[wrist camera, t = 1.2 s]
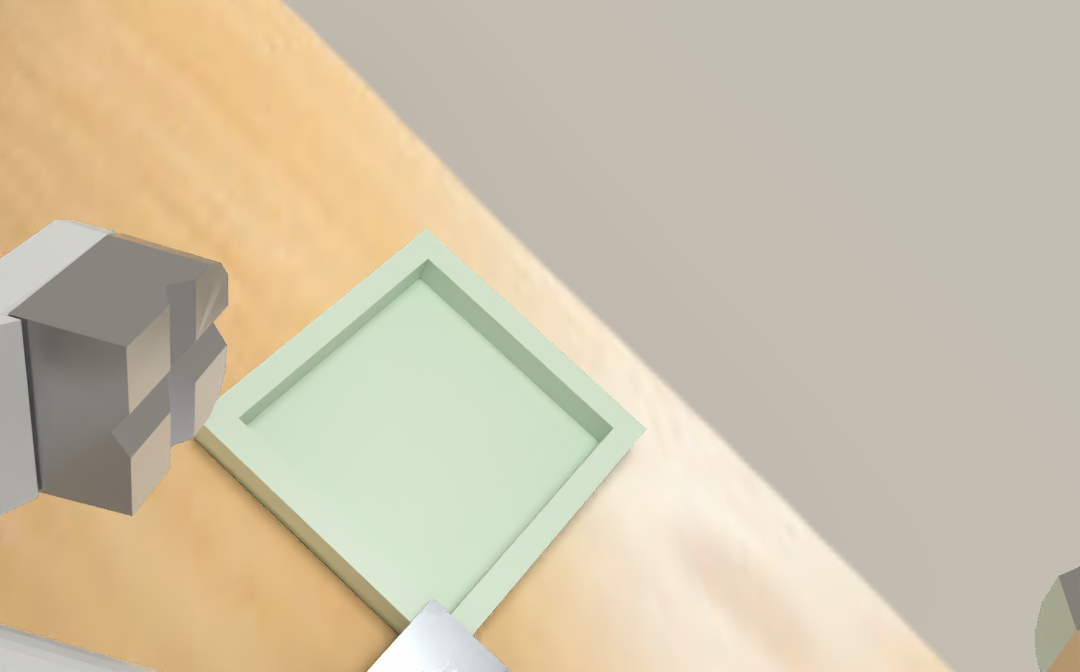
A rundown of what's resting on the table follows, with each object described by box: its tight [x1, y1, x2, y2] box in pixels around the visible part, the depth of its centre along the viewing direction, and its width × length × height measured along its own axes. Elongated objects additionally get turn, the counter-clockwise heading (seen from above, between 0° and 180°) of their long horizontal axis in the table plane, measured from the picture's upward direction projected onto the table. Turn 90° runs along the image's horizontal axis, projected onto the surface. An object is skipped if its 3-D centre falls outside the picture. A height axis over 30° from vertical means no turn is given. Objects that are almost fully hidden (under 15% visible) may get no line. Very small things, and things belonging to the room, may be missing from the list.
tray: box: [194, 229, 646, 635], centre depth 46 cm, size 14×14×2 cm
